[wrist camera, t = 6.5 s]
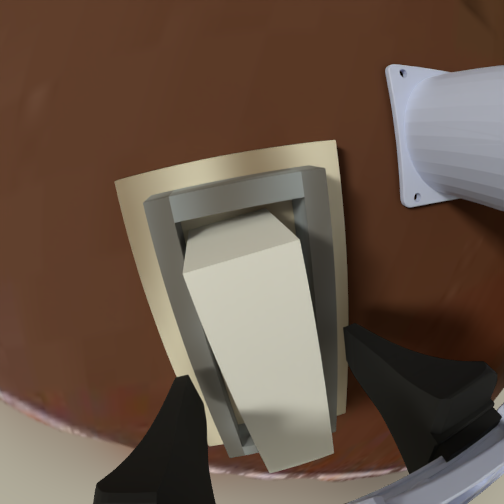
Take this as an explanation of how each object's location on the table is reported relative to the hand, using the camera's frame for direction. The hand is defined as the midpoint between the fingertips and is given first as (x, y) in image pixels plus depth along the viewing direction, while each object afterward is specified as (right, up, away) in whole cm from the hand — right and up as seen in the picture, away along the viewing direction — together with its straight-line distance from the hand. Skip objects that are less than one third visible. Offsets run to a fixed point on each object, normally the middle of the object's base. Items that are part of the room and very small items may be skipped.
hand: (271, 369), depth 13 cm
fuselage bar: (0, +1, +3) cm, 3 cm away
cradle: (-1, +1, +4) cm, 4 cm away
